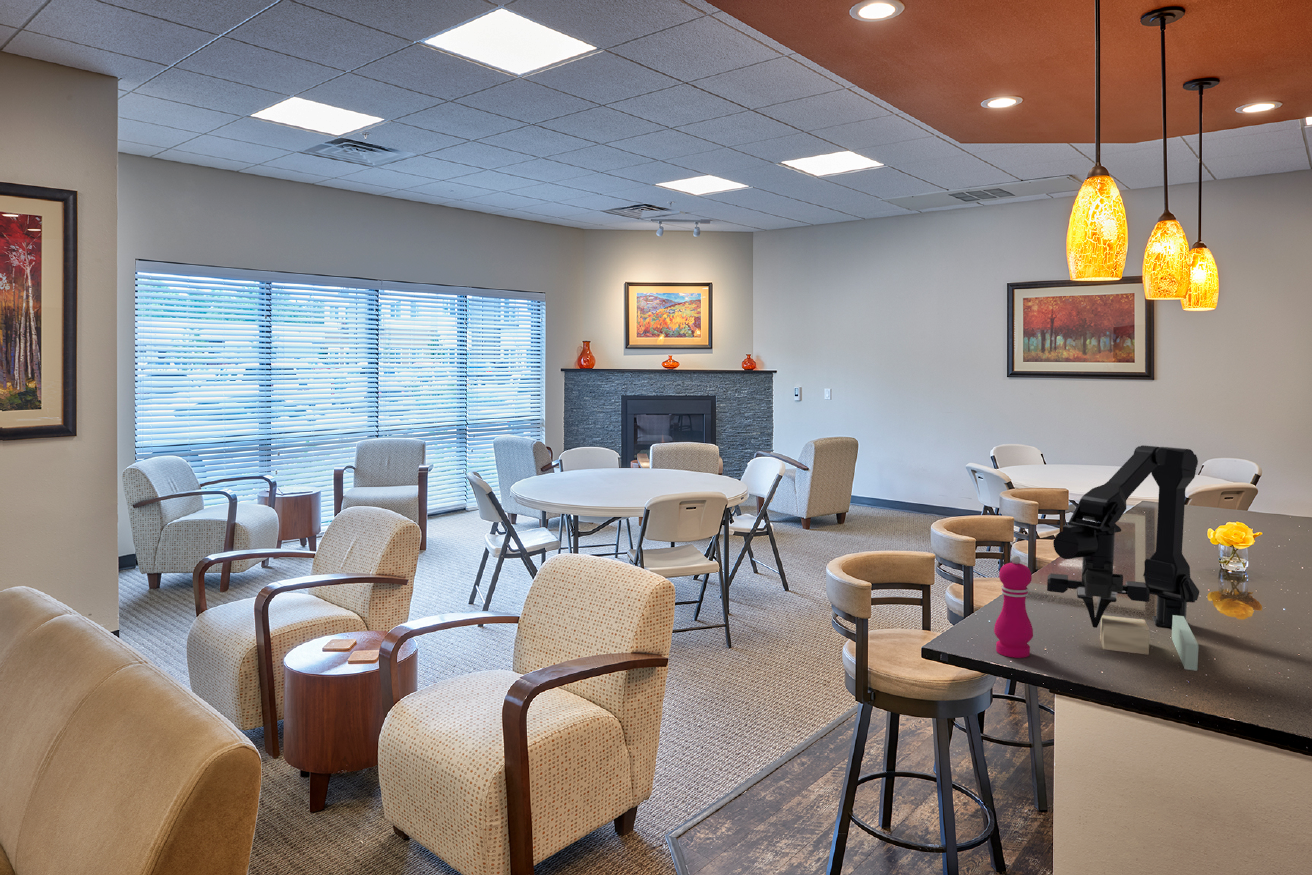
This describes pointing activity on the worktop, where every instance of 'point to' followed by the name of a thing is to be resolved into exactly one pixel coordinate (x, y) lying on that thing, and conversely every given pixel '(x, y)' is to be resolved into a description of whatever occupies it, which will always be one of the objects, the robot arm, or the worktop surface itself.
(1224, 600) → the worktop surface
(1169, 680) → the worktop surface
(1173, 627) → the sage board
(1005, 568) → the pepper mill
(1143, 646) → the maple block
